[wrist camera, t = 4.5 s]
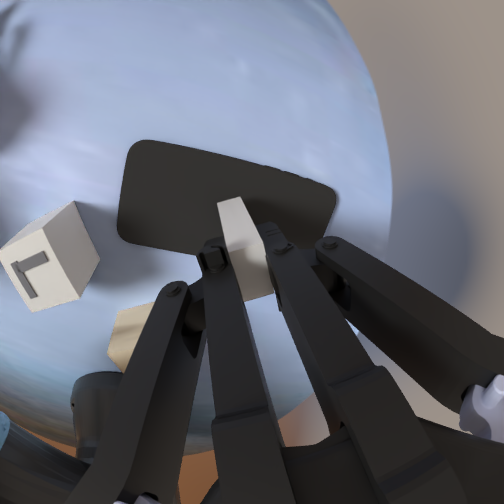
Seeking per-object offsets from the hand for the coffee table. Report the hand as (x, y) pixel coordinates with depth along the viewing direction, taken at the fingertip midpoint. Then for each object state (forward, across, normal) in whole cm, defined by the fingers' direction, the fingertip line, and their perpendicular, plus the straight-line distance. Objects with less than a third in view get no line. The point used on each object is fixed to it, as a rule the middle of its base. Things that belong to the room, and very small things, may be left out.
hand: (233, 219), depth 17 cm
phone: (+2, 0, 0) cm, 2 cm away
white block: (+2, +13, -2) cm, 13 cm away
